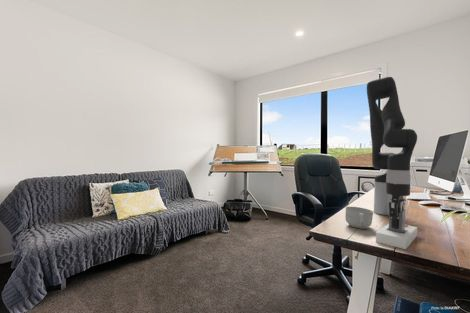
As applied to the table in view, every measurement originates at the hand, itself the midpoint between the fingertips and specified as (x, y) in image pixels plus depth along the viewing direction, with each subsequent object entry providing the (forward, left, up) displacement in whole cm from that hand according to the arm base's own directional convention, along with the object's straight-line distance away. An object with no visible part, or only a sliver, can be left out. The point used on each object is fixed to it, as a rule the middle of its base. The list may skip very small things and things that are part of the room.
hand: (396, 226), depth 89 cm
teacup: (-4, -15, -5) cm, 16 cm away
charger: (0, 0, -2) cm, 2 cm away
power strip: (-1, 0, -5) cm, 5 cm away
